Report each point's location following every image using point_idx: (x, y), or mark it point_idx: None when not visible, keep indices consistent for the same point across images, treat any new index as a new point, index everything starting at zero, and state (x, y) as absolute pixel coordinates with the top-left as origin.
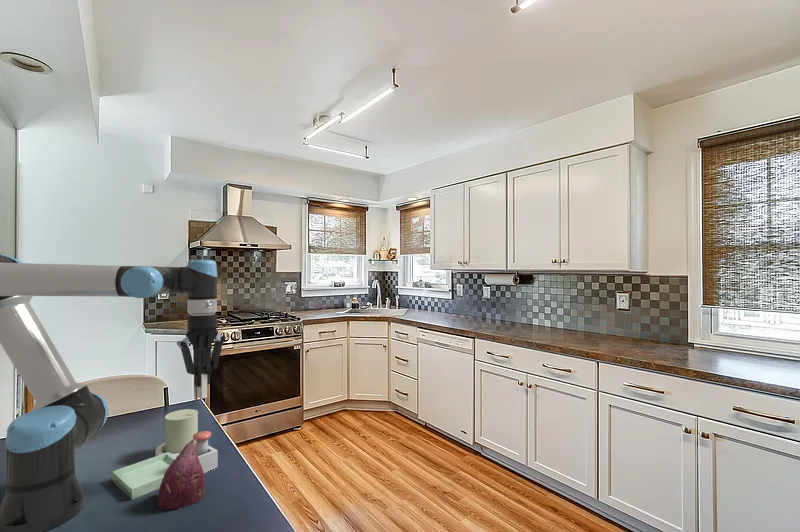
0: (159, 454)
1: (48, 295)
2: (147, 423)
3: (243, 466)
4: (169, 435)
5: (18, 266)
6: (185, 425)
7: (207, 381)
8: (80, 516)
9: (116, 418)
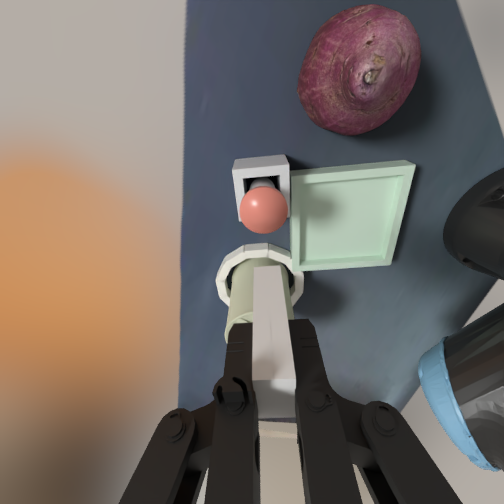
0: (302, 278)
1: None
2: None
3: (186, 117)
4: (290, 299)
5: None
6: None
7: (244, 338)
8: (480, 169)
9: (284, 418)
